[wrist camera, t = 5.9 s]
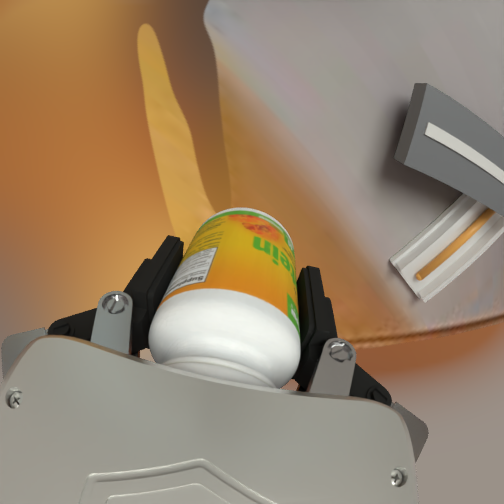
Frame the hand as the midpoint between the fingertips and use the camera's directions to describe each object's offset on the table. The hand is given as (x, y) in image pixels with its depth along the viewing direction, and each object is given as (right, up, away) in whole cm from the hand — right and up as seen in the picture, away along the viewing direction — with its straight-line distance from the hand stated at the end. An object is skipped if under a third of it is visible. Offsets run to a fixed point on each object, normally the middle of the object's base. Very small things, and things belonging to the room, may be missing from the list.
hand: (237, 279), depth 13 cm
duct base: (+28, +4, +15) cm, 32 cm away
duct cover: (+25, +11, +8) cm, 29 cm away
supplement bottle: (0, +1, +2) cm, 3 cm away
